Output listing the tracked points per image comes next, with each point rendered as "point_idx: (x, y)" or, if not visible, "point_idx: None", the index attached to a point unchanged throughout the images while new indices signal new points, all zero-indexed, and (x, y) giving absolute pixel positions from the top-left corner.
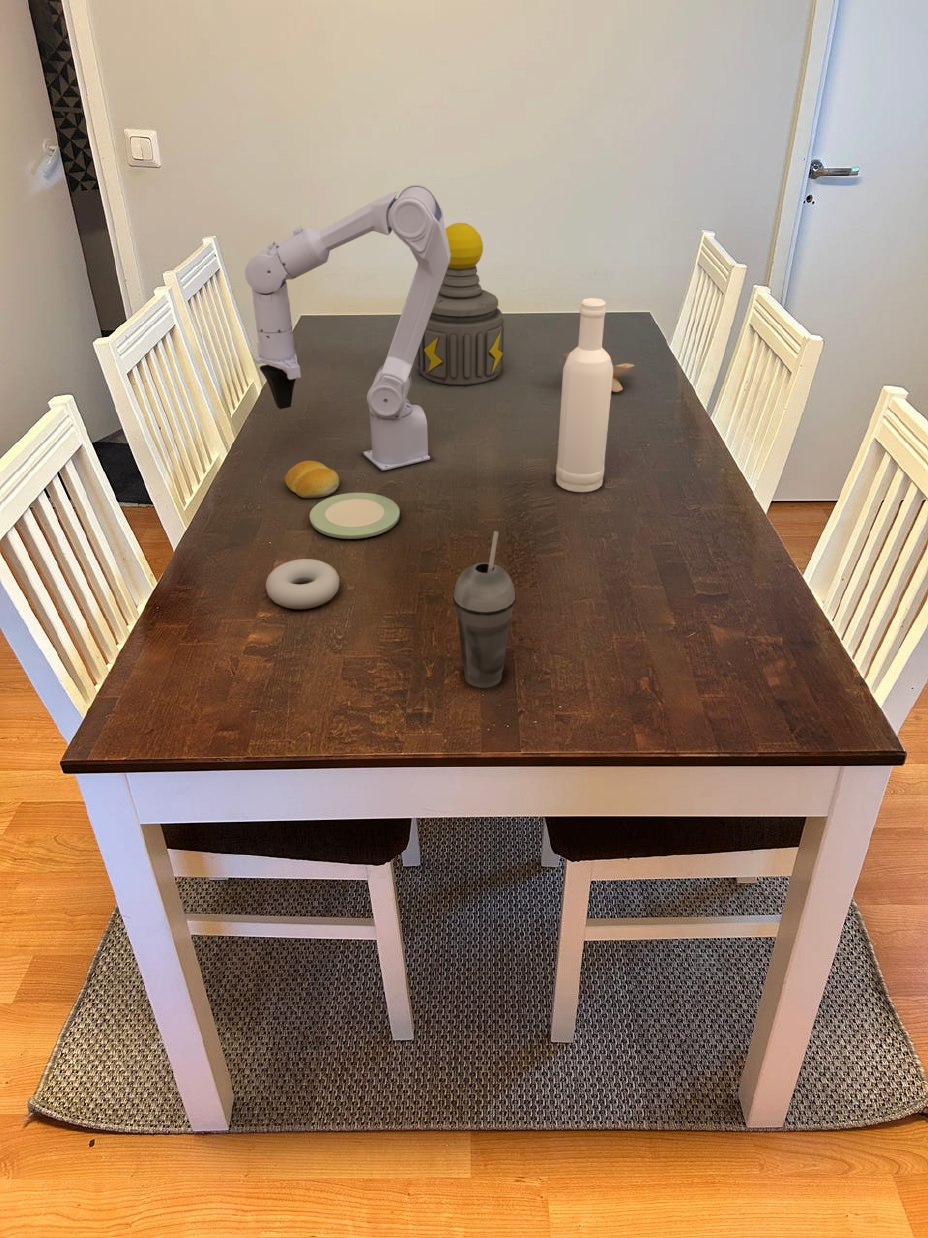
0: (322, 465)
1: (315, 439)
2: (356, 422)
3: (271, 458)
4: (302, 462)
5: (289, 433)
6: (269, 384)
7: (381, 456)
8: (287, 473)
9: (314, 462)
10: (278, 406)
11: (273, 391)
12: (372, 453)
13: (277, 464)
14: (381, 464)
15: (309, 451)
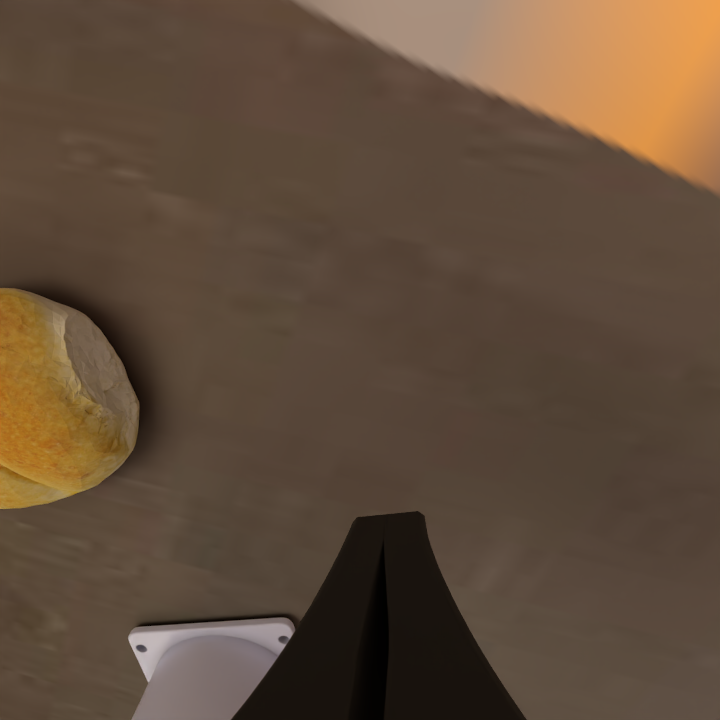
0: (43, 482)
1: (522, 508)
2: (610, 673)
3: (393, 282)
4: (4, 415)
5: (656, 426)
6: (443, 685)
7: (161, 671)
8: (4, 316)
9: (26, 463)
10: (351, 528)
11: (356, 634)
12: (219, 652)
13: (311, 296)
14: (162, 642)
15: (404, 457)
